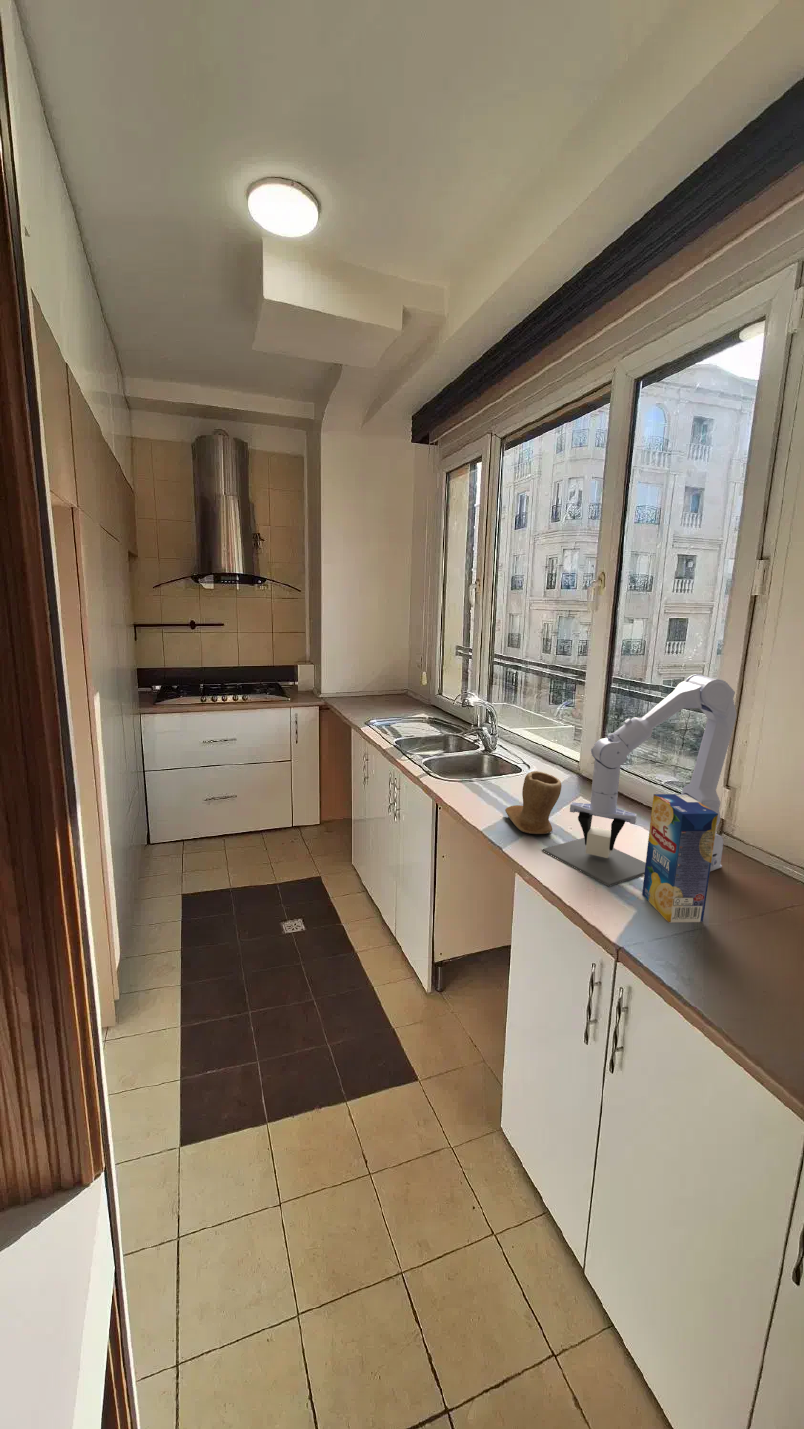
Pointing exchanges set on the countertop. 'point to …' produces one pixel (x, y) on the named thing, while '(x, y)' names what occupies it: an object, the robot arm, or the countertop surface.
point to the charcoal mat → (598, 862)
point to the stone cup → (536, 803)
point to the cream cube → (598, 842)
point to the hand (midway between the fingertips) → (599, 846)
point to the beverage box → (679, 857)
